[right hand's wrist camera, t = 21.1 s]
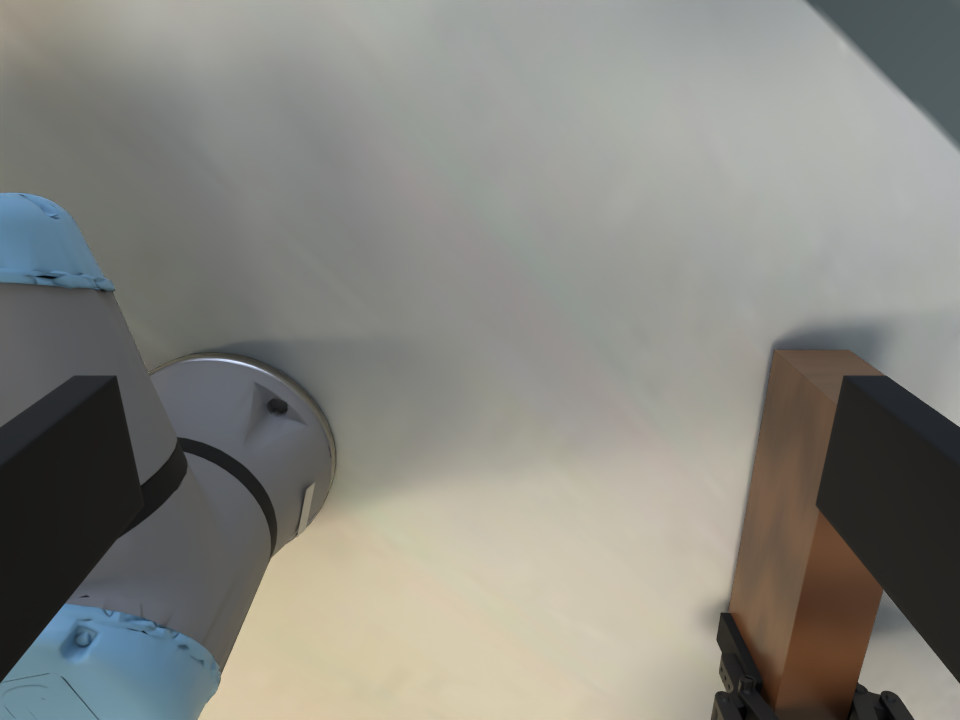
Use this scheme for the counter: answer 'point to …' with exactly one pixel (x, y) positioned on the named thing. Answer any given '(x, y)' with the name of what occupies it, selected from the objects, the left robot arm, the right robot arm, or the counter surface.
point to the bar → (801, 550)
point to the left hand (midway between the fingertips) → (760, 626)
